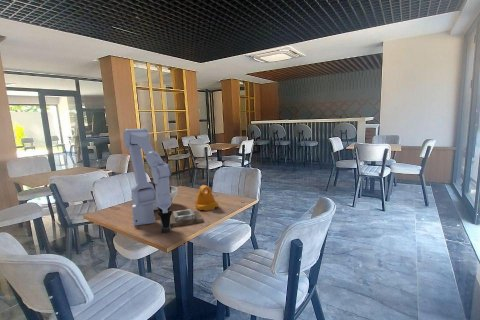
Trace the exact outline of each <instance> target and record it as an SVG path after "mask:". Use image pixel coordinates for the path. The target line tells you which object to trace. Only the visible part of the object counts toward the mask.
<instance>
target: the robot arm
mask: <svg viewBox="0 0 480 320" xmlns="http://www.w3.org/2000/svg"><path fill="white" fill-rule="evenodd" d="M122 137H123V142H124V146H125V149H127V150H129V156H130V160H131V165H132V169H133V174H134V178H135V185H134V186H133V187H132V188H131V190H130V191H131V192H130V193H132V199H131V200H132V203H133V204H132V207H131V208H132V209H131V211H132V222H133V226H134V227H135V226H141V225H149V224H154V223H156V216H155V210H153V202H154V200H155V199H156V200H157V204H154V207H157V208H158V209H159V210H158V211H157V215H158V216H159V218H161V221H162V224H163V227H164V228H167V227H169V223H170V217H171V215H173V210H170V208H171V205H172V204H171V198H170V186H171V185H169V184H170V177H171V175H172V168H171V166H170V164H168V163H166V162H164V161H163V159H162V157H161V156H160V154H159V153H158V152H157V151H155V150H154V148H153V146H152V144H151V142H150V133H149V130H148V129H147V128H145V127H144V128H129V129H128V128H125V129H124V131H123V133H122ZM142 151H143V154H145V161H146V162H147V164H148V165H149V167H150V169H151V172H150V173H151V174H150V175H151V176H152V181H154V183H155V188H156V191H155V189H154V186H153V185H152V184H150V183H149V182H150V181H148V178H147V173H146V169H145V165H144V160H143V155H142ZM144 188H147V189H144ZM139 189H144V190H140V191H138V190H139Z"/></svg>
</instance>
